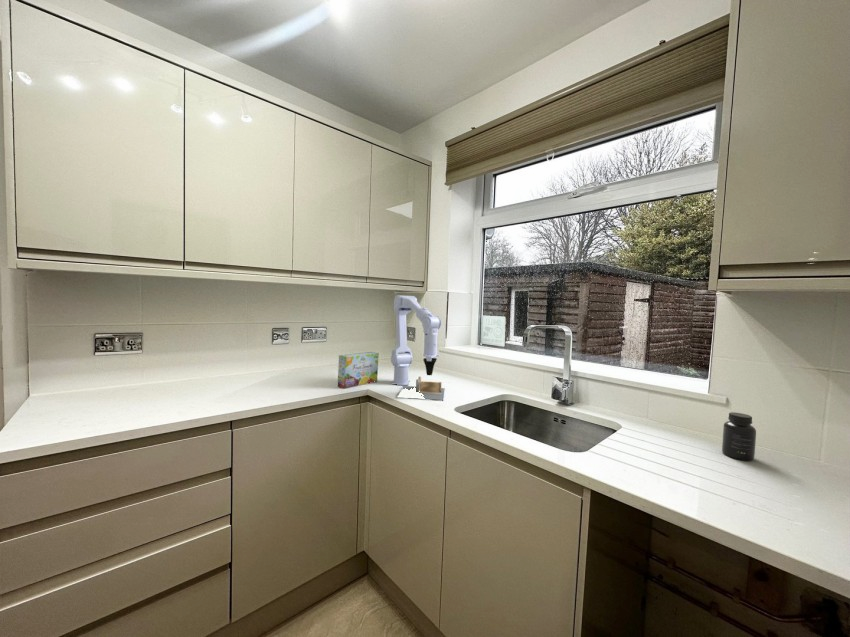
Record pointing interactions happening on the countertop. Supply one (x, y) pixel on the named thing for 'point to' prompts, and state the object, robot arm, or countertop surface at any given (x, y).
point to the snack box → (357, 369)
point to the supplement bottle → (739, 437)
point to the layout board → (427, 394)
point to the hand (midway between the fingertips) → (429, 374)
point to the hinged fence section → (430, 386)
